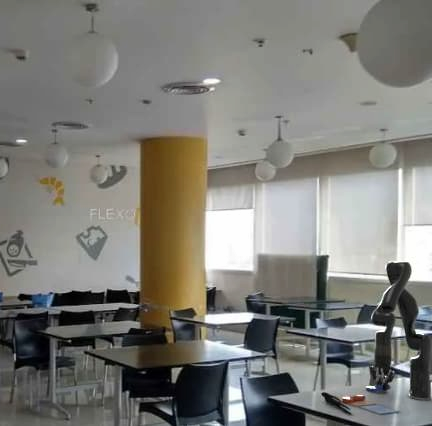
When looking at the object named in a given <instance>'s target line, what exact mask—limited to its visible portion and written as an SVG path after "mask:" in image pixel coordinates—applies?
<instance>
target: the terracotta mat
mask: <svg viewBox="0 0 432 426" xmlns="http://www.w3.org/2000/svg"><path fill="white" fill-rule="evenodd" d="M338 398H339V399H340V401H341V402H342V397H338ZM335 400H337V399H335ZM337 401H338V400H337ZM347 404H348V405H350V406H354V407H362V406H372V405H376V404H375V403H374V402H370V401H368V400H363V401H353V403H347Z"/></svg>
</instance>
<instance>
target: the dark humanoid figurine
mask: <svg viewBox="0 0 432 426" xmlns="http://www.w3.org/2000/svg"><path fill="white" fill-rule="evenodd" d="M320 396H322V397H323V398H324V401H325V403H327V404H330V405H332V406H334V407H336V408H337V409H339V410H341V411H343V412H344V413H346V414H349V415H352V413H351V412H350V411H351V408H350V407H349V406H347V405H346V404H344V403H343V402H342V401H340V399H339V398H340V397H337V396H335V395H333V394H330V393H328V392H326V391H323V392H321V395H320ZM336 399H337V400H336Z"/></svg>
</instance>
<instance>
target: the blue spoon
mask: <svg viewBox="0 0 432 426" xmlns="http://www.w3.org/2000/svg"><path fill="white" fill-rule="evenodd" d="M391 388H392V387H391V385H390V384H388V390H387V391H389V390H391ZM380 390H383V385H375V386H369V385H367V386H365V391H367V392H369V393H374V392H378V391H380Z"/></svg>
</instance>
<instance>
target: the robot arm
mask: <svg viewBox="0 0 432 426" xmlns="http://www.w3.org/2000/svg"><path fill="white" fill-rule="evenodd" d="M385 264H386V265H385V273H386V276H387V279H388V281H389V285H390V286H389V287H388V288H387V289H386V291H385V292H384V293H383V295H382V297H381V300H380V303H379V305H378V306H377V307H376V308H375V310H374V311H373V313H372V314H371V318H370V319H371V323H372V324H373V325H374V326H377V327H383V328H384V327H385V329H384V330H377V331H376V332H375V335H374V338H375V339H374V342H375V343H374V348H373V349H374V353H373V355H374V356H373V361H374V362H375V365H374V366H373V367H370V370H371V373H372V376H373V379H375V380H376V381H377V385H382V382H381V381H382V378H383V391H386V392H387V391H389V390H388V385H389V383H392V382H393V380H394V378H395V376H396V374H397V373H396V371H393V370H392V367H391V365H392V355H393V353H392V351H393V350H392V335H393V332H394V327H395V326H396V321H397V318H396V315H395V313H393V312H395V311H396V309H398V312H399V315H400V318H401V322H402V326H403V330H404V335H405V341H406V345H407V347H408V349H409V350H411V351H415V352H419V354H418V355H417V356H414V357H411V358H410V359H409V389H408V393H409V394H408V395H409V398H410V399H411V398H412V399H415V400H419V401H430V400H431V398H432V381H431V360H432V337H431V336H430V335H429V334H426V333H419V332H417V331H416V328H415V324H416V321H417V319H418V316H419V314H420V310H419V309H420V308H419V306H418V302H417V299H416V298H415V297H414V295H413V294H412V293H411V292H409V290H407V289H406V286H407V283H408V282H409V280H410V279H411V276H412V272H413V270H412V265H411V264H410V262H409V261H404V260H403V261H401V260H400V261H398V260H397V261H389V262H387V263H385ZM375 376H376V377H375Z"/></svg>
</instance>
